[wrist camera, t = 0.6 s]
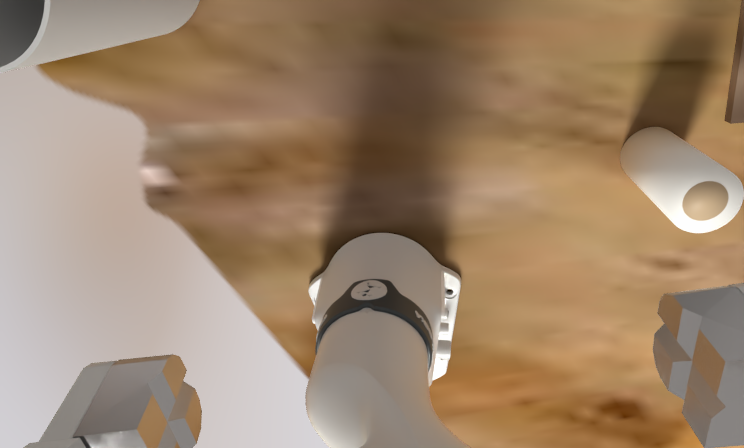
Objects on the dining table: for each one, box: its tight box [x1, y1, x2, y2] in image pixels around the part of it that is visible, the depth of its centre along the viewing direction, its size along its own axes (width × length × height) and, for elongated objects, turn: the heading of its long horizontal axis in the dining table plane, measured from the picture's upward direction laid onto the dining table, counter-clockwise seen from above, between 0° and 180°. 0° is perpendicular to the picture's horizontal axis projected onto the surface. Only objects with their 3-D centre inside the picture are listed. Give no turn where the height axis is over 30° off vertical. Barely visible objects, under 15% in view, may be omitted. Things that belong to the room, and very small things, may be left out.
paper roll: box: [620, 127, 744, 233], centre depth 52 cm, size 6×6×13 cm
